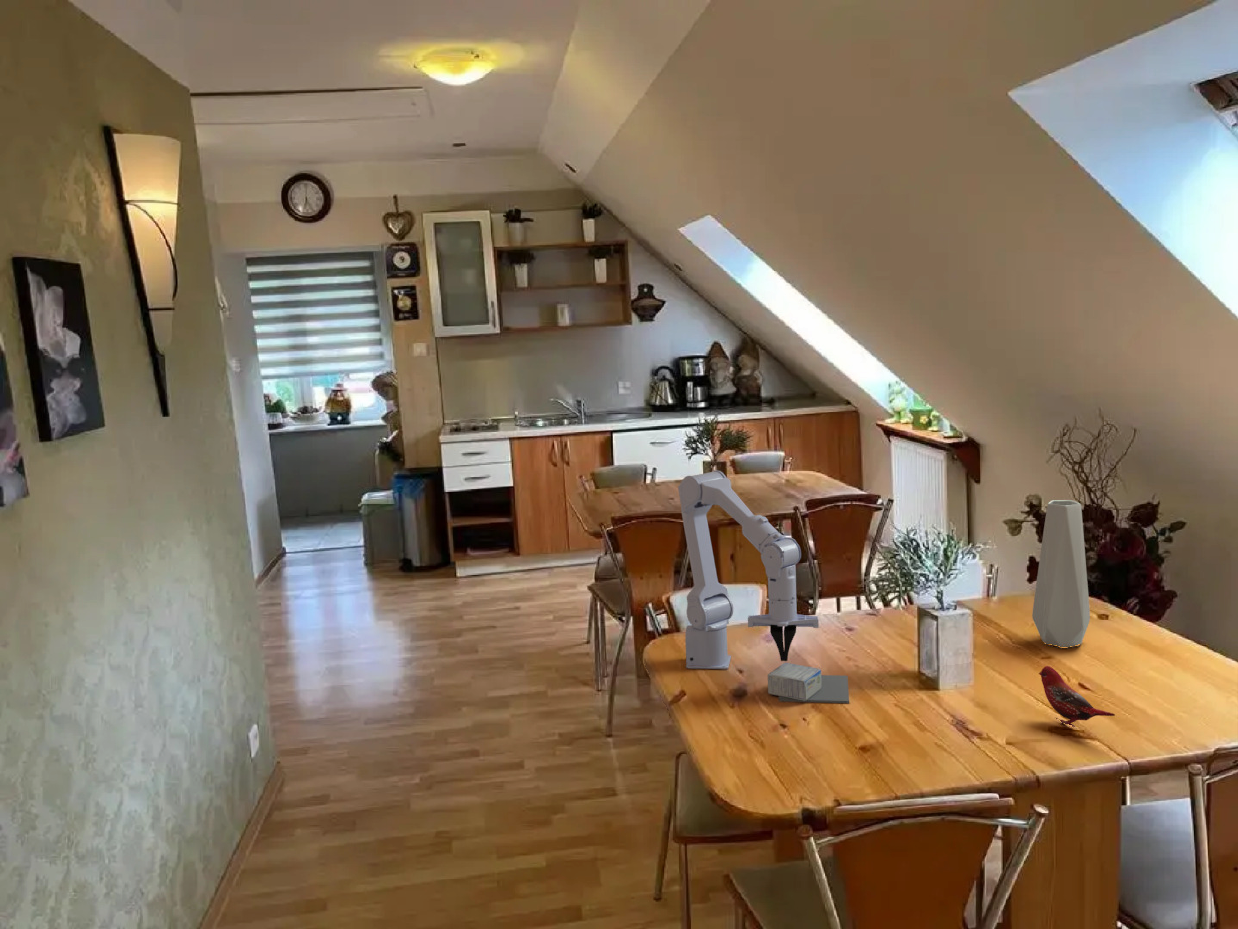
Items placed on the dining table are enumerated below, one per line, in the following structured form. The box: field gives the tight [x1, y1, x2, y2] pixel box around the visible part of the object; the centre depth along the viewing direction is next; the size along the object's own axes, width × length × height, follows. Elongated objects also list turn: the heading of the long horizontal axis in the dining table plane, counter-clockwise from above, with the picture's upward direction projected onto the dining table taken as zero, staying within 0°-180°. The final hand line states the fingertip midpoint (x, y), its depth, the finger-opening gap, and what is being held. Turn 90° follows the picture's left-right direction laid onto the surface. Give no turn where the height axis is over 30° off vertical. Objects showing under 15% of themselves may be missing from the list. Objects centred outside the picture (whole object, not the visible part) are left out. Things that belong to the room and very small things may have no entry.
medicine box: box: [767, 662, 822, 701], centre depth 200 cm, size 8×4×9 cm
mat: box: [778, 674, 850, 704], centre depth 202 cm, size 14×14×1 cm
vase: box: [1031, 499, 1091, 647], centre depth 219 cm, size 12×12×33 cm
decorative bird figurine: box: [1038, 665, 1116, 728], centre depth 176 cm, size 3×18×10 cm, turn 20°
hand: (784, 659), depth 202 cm, fingers closed
